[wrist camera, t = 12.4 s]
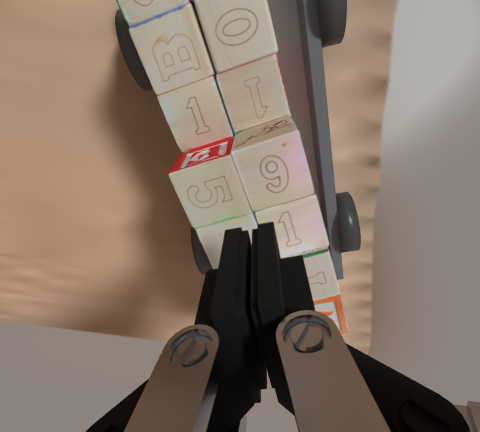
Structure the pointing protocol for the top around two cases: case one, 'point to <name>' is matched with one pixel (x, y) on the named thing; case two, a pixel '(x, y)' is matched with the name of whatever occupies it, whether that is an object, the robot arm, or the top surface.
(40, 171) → the top surface
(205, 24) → the stack of blocks
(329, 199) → the chassis
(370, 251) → the top surface
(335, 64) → the top surface
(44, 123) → the top surface
